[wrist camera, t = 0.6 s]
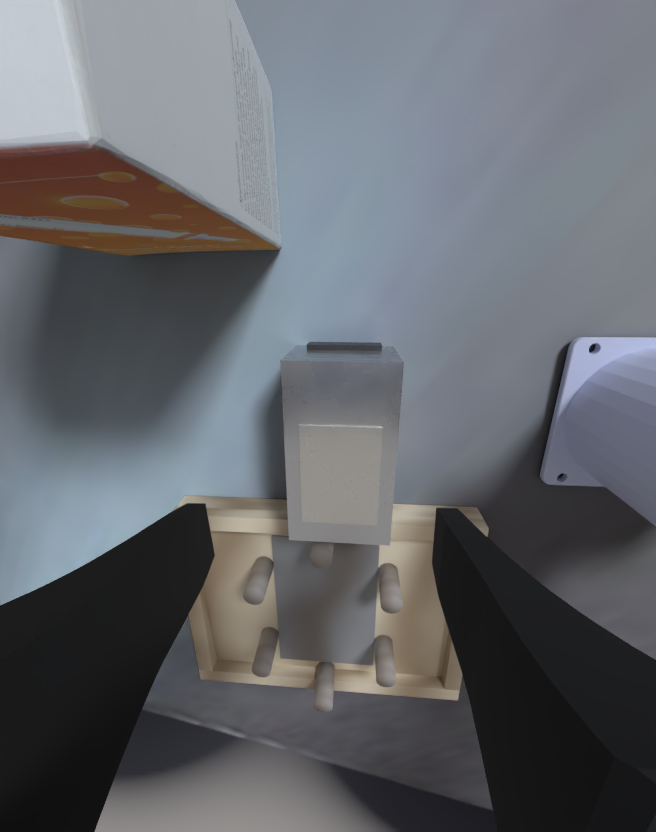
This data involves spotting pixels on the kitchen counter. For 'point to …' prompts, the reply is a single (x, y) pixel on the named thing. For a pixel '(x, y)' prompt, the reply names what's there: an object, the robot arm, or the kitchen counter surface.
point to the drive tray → (323, 606)
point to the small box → (135, 127)
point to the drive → (341, 440)
